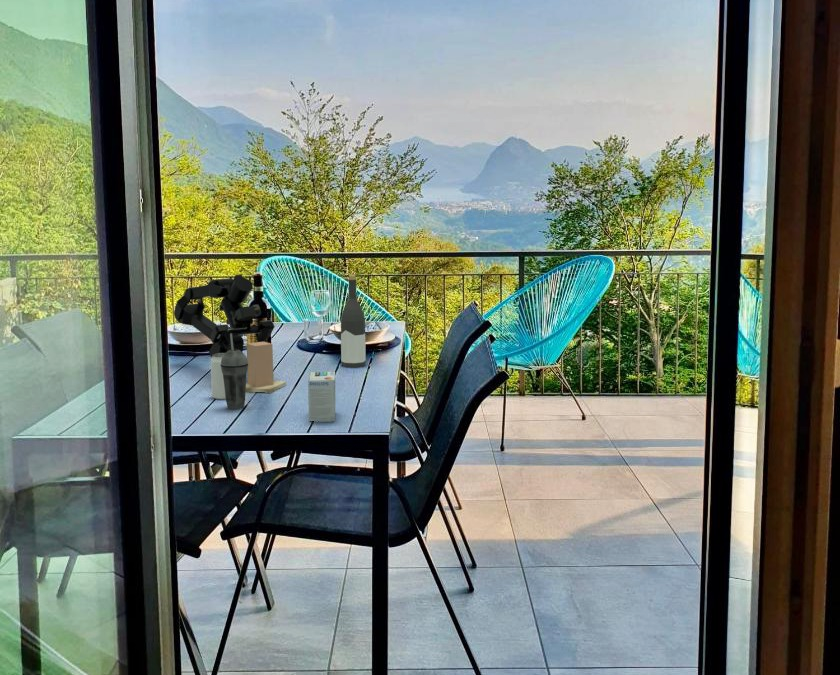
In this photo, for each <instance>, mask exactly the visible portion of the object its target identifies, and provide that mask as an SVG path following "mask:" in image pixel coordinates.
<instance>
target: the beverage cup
mask: <svg viewBox="0 0 840 675" xmlns="http://www.w3.org/2000/svg"><path fill="white" fill-rule="evenodd" d="M230 339H231V349H232V350H229V351H227V352H226V353H225V354H224V355H223V357H222V360H221V365H220V366H221V370H222V373H223V380H224V388H225V396H226V399H225V403H226V408H227V409H228V410H240V408H242V409H244V408H245V404H246V393H247V392H246V382H247V376H248V373H247V369H248V360H247V355H246V354H245V353H244V352H243V351H242V352H241V351H240V350H236V349H233V339H232V334H230Z"/></svg>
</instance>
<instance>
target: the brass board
mask: <svg viewBox="0 0 840 675" xmlns="http://www.w3.org/2000/svg"><path fill="white" fill-rule="evenodd" d="M273 381H274V385H268V386H261V387H255V386H252V385H249V384H248V381H246V393H255V392H265V393H264V394H272V393H274V392H276V391H278V390H279V388H280V389H282V388H283V386H284V387H285V385H286V386H287V381H283V380H282V381H281V380H273ZM281 387H282V388H281ZM277 389H278V390H277ZM275 390H276V391H275ZM273 391H274V392H273ZM271 392H272V393H271Z"/></svg>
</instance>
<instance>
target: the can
mask: <svg viewBox="0 0 840 675" xmlns="http://www.w3.org/2000/svg"><path fill="white" fill-rule="evenodd" d="M224 354H225V353H218V354H213V355H212V357H211V359H210V381H211V382H210V384H211V397H212V398H213V399H214V400H226V396H225V388H224V380H223V373H222V370H221V366H220V365H221V360H222V357H223V355H224Z"/></svg>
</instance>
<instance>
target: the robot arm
mask: <svg viewBox="0 0 840 675" xmlns="http://www.w3.org/2000/svg"><path fill="white" fill-rule="evenodd" d="M253 287H254V284H253V283H252V281H250V279H248V278H245V277H244V276H242V274H235V275H234V277H233V278H231V277H230V278H219V279H218V278H217V279H216V278H214V279H212V280H210V281H209V282H208V283H207V284H205V285H199V286H193V287H192V286H190V287H188V288H187V287H186V289H185V291H184V293H183V295H182V296H181V297H180V298H179V299H178V300H177V301H176V304H175V308H174V311H173V316H174V318H175V319H176V321H177V322H178V323H180V324H182V325H185V326H186V325H187V326H192V327H193V328H194V329H196V330H197V331H199V332H200V333H201V334H203V335H204V336H205V337H207V338H208V339H209V340H210V341H211V343H212V345H211V347H210V349H209V350H208V351H209V355H210V358H212V355H213V354H218V353H226V352H227V351H229V350H232V349H231V339H230V334H232V339H233V349H236V350H240V351H241V352H243V350H244V345H245V341H244V339H243V338H244V337H242V336H244V335H254V334H255V337H256V338H257V339H256V341H257V342H267V343H268V338H269V337H270V336H271V334H272V333H273V331H274V328H275V327H276V325H275V324H274V322H273V321H272V320H260V321H258V324H257V326H256V325H255V326H251V325H253V323H254V319H255V318H257V317H259V316H260V315H261V314H262V310H261V307H260V305H259V304H253V305H251V306H243V305H242V303H245V302H246V301H247V299H248V297H249V295H250V294H251V291H252V290H253V289H254V288H253ZM205 298H212V299H221V298H222V299H221V301H220V305H219V308H218V309H219V311H223V312H224V314H225V317H226V321H225V323H226V324H216V322H214V321H212V320H211V319H209V318H208V317H207V316H206V315H205V314H204V311H205V303H204V301H203V299H205ZM193 300H195V301H196V300H198V301H197V303H190V302H191V301H193Z"/></svg>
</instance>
